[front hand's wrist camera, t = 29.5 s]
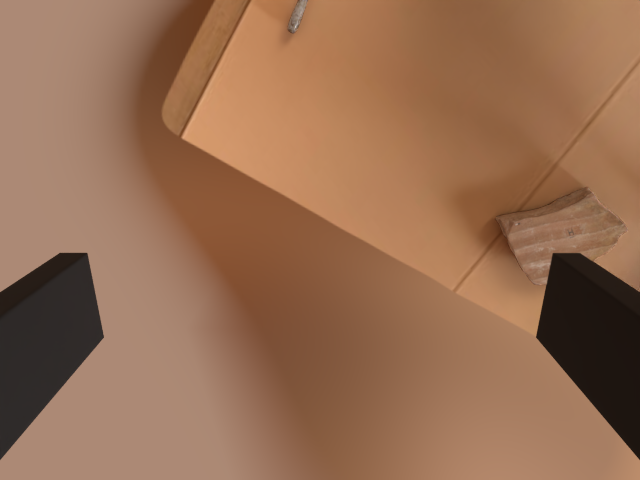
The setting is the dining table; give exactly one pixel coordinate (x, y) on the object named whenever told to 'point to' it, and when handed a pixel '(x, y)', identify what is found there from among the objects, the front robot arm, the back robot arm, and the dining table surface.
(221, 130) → the dining table surface
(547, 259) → the stone
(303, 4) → the putty knife
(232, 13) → the dining table surface
